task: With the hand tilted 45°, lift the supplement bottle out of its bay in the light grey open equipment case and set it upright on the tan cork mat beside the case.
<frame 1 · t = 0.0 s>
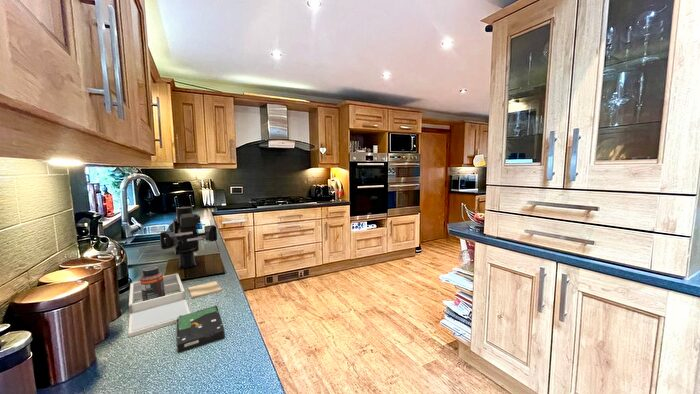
hand: (193, 240, 99), 17 cm above the countertop, tool horizontal, fingers open, 9 cm apart
cork mat: (204, 289, 97), on the countertop
equipment case: (157, 297, 92), on the countertop
supplement bottle: (154, 302, 89), resting in equipment case
disk drive: (200, 332, 73), on the countertop
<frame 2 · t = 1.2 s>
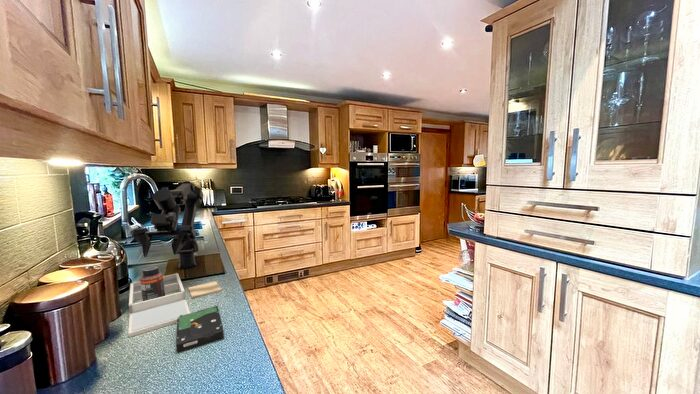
hand: (160, 255, 95), 13 cm above the countertop, tool tilted 45°, fingers open, 9 cm apart
nothing on the countertop moved.
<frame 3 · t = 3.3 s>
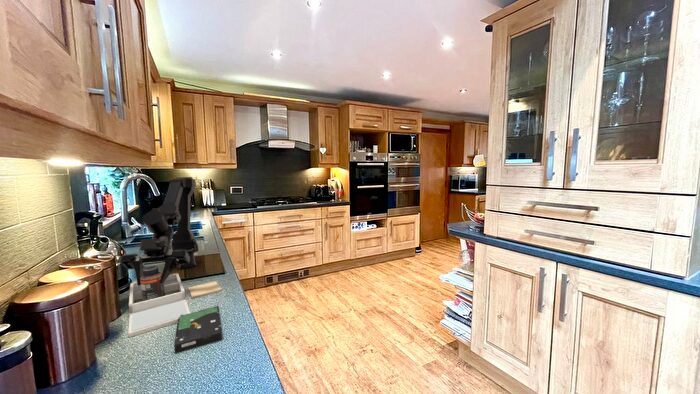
hand: (150, 283, 87), 7 cm above the countertop, tool tilted 45°, fingers closed on supplement bottle, 6 cm apart
supplement bottle: (154, 302, 89), resting in equipment case, touching gripper
everything else where it was.
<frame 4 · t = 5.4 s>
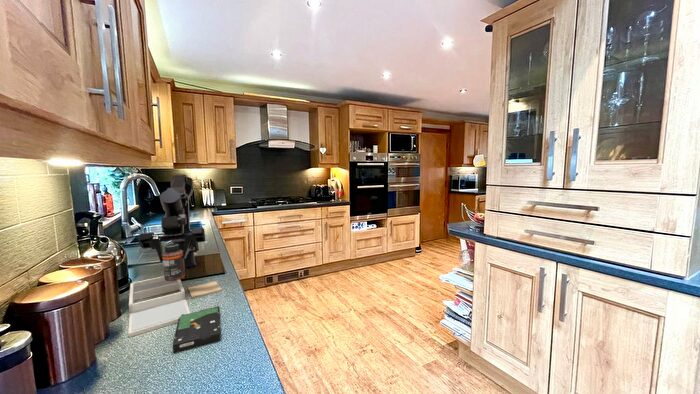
hand: (172, 260, 89), 13 cm above the countertop, tool tilted 45°, fingers closed on supplement bottle, 6 cm apart
supplement bottle: (175, 278, 91), point 6 cm above the countertop, touching gripper
everything else where it was.
when the fingers open (8 cm above the countertop, at t = 7.8 s): supplement bottle stays where it is, resting on cork mat.
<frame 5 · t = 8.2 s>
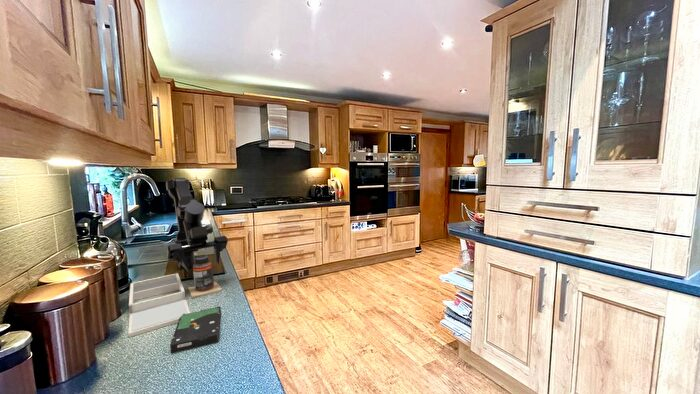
hand: (203, 267, 95), 9 cm above the countertop, tool tilted 45°, fingers open, 9 cm apart
supplement bottle: (204, 288, 97), resting on cork mat
everything else where it was.
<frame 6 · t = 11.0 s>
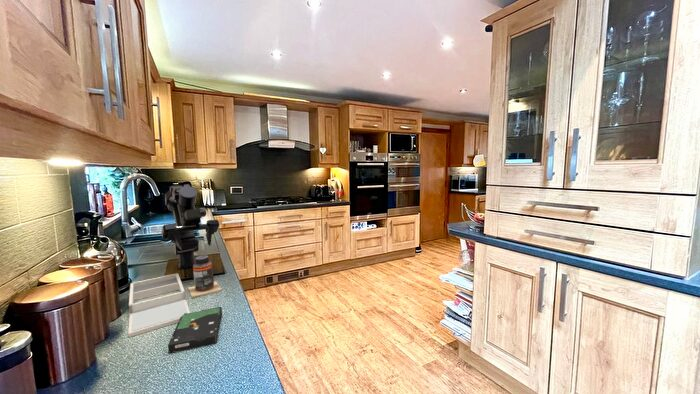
hand: (196, 247, 102), 14 cm above the countertop, tool tilted 45°, fingers open, 9 cm apart
nothing on the countertop moved.
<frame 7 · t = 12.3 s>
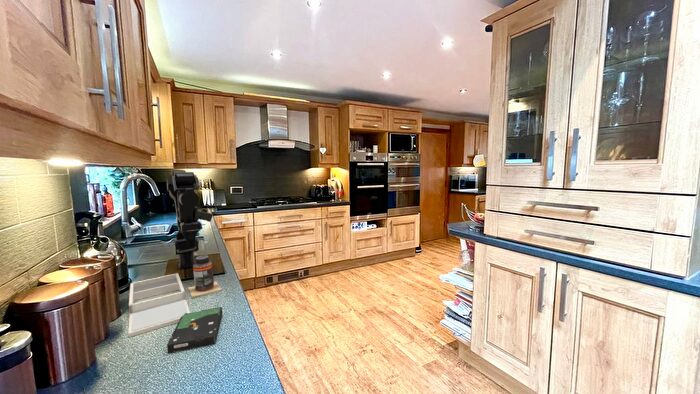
hand: (190, 244, 107), 13 cm above the countertop, tool pointing down, fingers open, 9 cm apart
nothing on the countertop moved.
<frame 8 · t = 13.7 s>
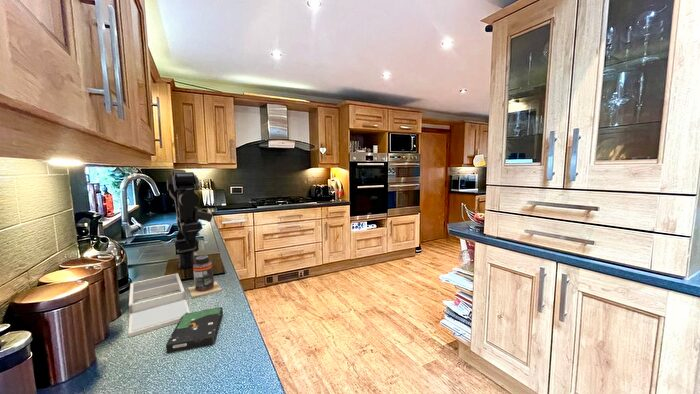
hand: (190, 244, 107), 13 cm above the countertop, tool pointing down, fingers open, 9 cm apart
at the end: supplement bottle 0.2 cm off-centre on the cork mat, point 0.4 cm above the cork mat's base; supplement bottle tilted 0°; the gripper is holding nothing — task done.
